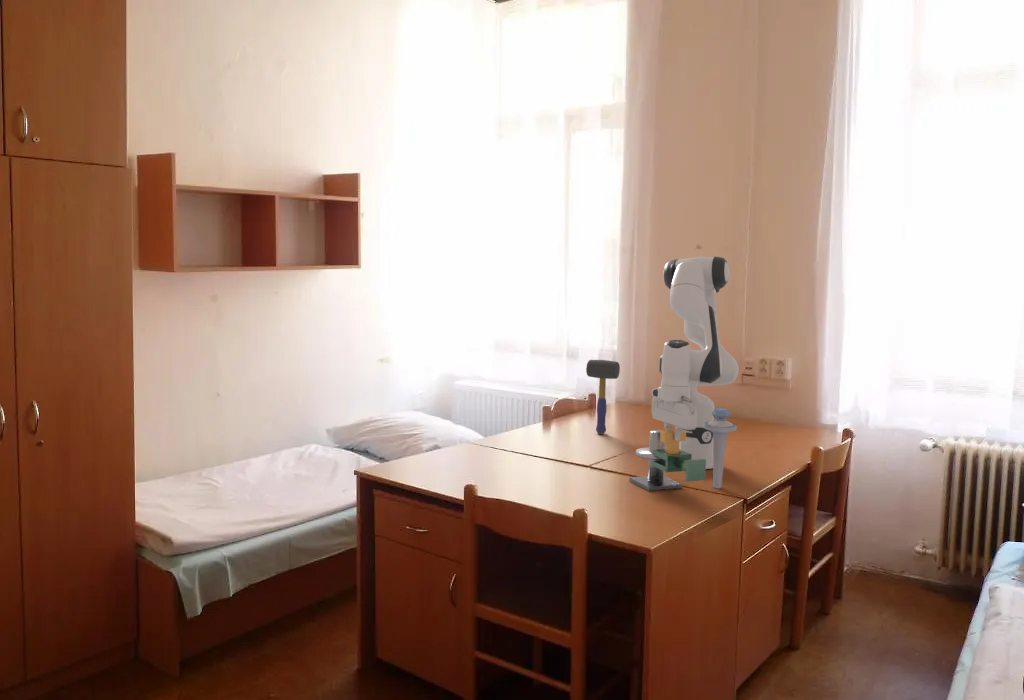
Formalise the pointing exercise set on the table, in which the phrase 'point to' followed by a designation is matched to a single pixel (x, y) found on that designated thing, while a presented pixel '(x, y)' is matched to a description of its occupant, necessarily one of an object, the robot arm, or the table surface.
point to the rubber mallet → (602, 386)
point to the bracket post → (666, 466)
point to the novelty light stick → (719, 441)
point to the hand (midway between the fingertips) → (673, 438)
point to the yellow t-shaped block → (671, 441)
